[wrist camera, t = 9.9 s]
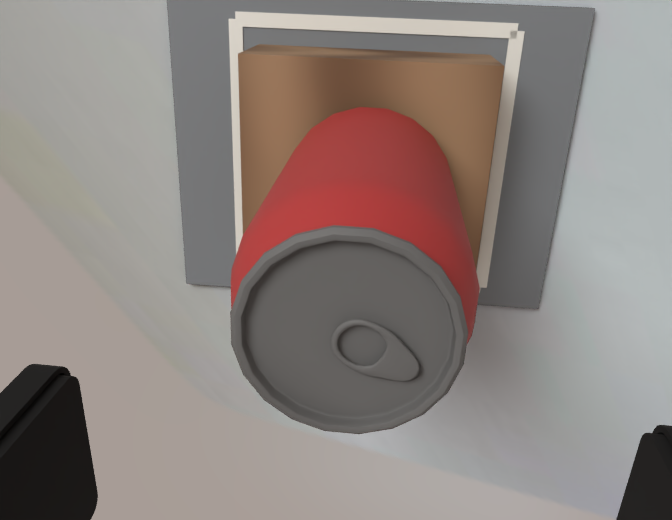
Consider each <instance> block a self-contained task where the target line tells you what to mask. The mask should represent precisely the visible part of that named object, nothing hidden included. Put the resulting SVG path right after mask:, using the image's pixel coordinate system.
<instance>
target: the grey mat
mask: <svg viewBox="0 0 672 520" xmlns="http://www.w3.org/2000/svg"><path fill="white" fill-rule="evenodd" d="M167 10H168V24H169V39H170V53H171V68H172V82H173V97H174V111H175V126H176V140H177V155H178V169H179V183H180V198H181V212H182V227H183V241H184V256H185V270H186V284H198V285H212V286H226V287H231V270H232V266H233V263H234V260H235V257H236V254H237V251H238V248H239V245H240V242H241V239H242V236H243V224H242V187H241V150H240V114H239V77H238V53H240V52H243V51H245V50H247V49H249V48H252V47H254V46H256V45H258V44H265V45H287V46H309V47H331V48H353V49H375V50H397V51H418V52H440V53H462V54H484V55H491V56H492V57H493V58H495V59H496V60H497V61H499V62H500V63H501V64H503V65H504V66H505V67H504V74H503V81H502V88H501V96H500V103H499V110H498V117H497V124H496V131H495V139H494V146H493V153H492V160H491V167H490V175H489V182H488V189H487V196H486V203H485V211H484V218H483V225H482V232H481V239H480V246H479V254H478V261H477V268H476V272H477V277H478V282H479V287H480V290H479V297H478V303H477V305H491V306H505V307H519V308H533V309H538V308H539V303H540V297H541V292H542V287H543V281H544V276H545V271H546V266H547V260H548V255H549V250H550V244H551V239H552V234H553V229H554V223H555V218H556V213H557V207H558V202H559V197H560V191H561V186H562V181H563V176H564V170H565V165H566V160H567V154H568V149H569V144H570V139H571V133H572V128H573V123H574V117H575V112H576V107H577V101H578V96H579V91H580V86H581V80H582V75H583V70H584V64H585V59H586V54H587V49H588V43H589V38H590V33H591V27H592V22H593V17H594V12H595V8H582V7H558V6H533V5H508V4H483V3H458V2H433V1H408V0H167Z"/></svg>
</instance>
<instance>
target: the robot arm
mask: <svg viewBox="0 0 672 520" xmlns="http://www.w3.org/2000/svg"><path fill="white" fill-rule="evenodd" d="M97 498H98V494H97V487H96V481H95V475H94V469H93V463H92V457H91V451H90V445H89V439H88V433H87V427H86V421H85V415H84V409H83V403H82V397H81V391H80V385H79V381H78V379H77V378H76V377H74V376H71V375H70V373H69V371H68V369H67V368H65V367H60V366H50V365H40V364H31V365H29V366H27V367H26V368H25V369H24V370H23V371H22V372H21V373H20V374H19V375H18V376H17V377H16V378H15V379H14V380H13V381H12V382H11V383H10V384H9V385H8V386H7V387H6V388H5V389H4V390H3V391H2V392H1V393H0V520H90V519H91V518H92V516H93V514H94V511H95V509H96V504H97ZM617 520H672V426H667V425H658V426H657V427H656V428H655V429H654V431H653V433H645V434H644V435H643V436H642V438H641V440H640V443H639V447H638V450H637V453H636V457H635V460H634V463H633V467H632V470H631V473H630V477H629V480H628V483H627V486H626V490H625V493H624V496H623V500H622V503H621V506H620V510H619V513H618V516H617Z"/></svg>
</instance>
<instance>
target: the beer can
mask: <svg viewBox="0 0 672 520" xmlns="http://www.w3.org/2000/svg"><path fill="white" fill-rule="evenodd" d="M479 290H480V287H479V282H478V277H477V272H476V268H475V263H474V258H473V253H472V249H471V246H470V242H469V238H468V235H467V231H466V227H465V224H464V220H463V216H462V213H461V209H460V205H459V202H458V198H457V194H456V190H455V187H454V183H453V179H452V176H451V172H450V168H449V165H448V161H447V158H446V156H445V155H444V153H443V151H442V150H441V148H440V146H439V145H438V143H437V141H436V140H435V138H434V136H433V135H431V134H430V133H429V132H428V131H427V130H425V129H424V128H423V127H422V126H421V125H420V124H418V123H417V122H416V121H415V120H414V119H412V118H410V117H407V116H405V115H402V114H400V113H397V112H394V111H392V110H389V109H385V108H369V107H358V108H354V109H350V110H346V111H343V112H339V113H335V114H333V115H331V116H330V117H328V118H326V119H325V120H323V121H322V122H320V123H319V124H317V125H316V126H314V127H313V128H311V129H310V131H309V132H308V133H307V134H306V136H305V137H304V138H303V140H302V141H301V142H300V143H299V145H298V146H297V147H296V149H295V150H294V152H293V153H292V155H291V157H290V158H289V160H288V162H287V163H286V165H285V167H284V168H283V170H282V172H281V173H280V175H279V176H278V178H277V180H276V181H275V183H274V185H273V186H272V188H271V190H270V191H269V193H268V195H267V196H266V198H265V200H264V201H263V203H262V205H261V206H260V208H259V209H258V211H257V213H256V214H255V216H254V218H253V219H252V221H251V223H250V224H249V226H248V228H247V229H246V231H245V233H244V234H243V236H242V239H241V242H240V245H239V248H238V251H237V254H236V257H235V260H234V263H233V266H232V270H231V308H232V310H231V312H230V315H231V345H232V347H233V350H234V352H235V355H236V357H237V360H238V362H239V365H240V368H241V370H242V373H243V375H244V376H245V377H246V378H247V380H248V381H249V382H250V383H251V385H252V386H253V387H254V388H255V389H256V391H257V392H258V393H259V394H260V396H261V397H262V398H263V399H264V400H265V401H266V402H268V403H269V404H271V405H272V406H274V407H275V408H276V409H278V410H279V411H281V412H282V413H284V414H285V415H287V416H288V417H290V418H291V419H293V420H296V421H298V422H301V423H304V424H307V425H310V426H312V427H315V428H318V429H321V430H324V431H332V432H342V433H353V434H362V433H368V432H374V431H381V430H387V429H393V428H395V427H397V426H399V425H402V424H404V423H406V422H408V421H410V420H412V419H415V418H417V417H419V416H421V415H423V414H424V413H426V412H427V411H428V410H429V409H430V408H431V407H432V406H433V405H434V404H436V403H437V402H438V401H439V400H440V399H441V398H442V397H443V396H444V395H446V394H447V393H448V391H449V390H450V388H451V386H452V384H453V382H454V381H455V379H456V377H457V375H458V373H459V372H460V370H461V368H462V366H463V364H464V358H465V351H466V345H467V343H468V341H469V339H470V338H471V336H472V332H473V327H474V323H475V316H476V310H477V303H478V297H479Z"/></svg>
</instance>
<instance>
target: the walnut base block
mask: <svg viewBox="0 0 672 520" xmlns="http://www.w3.org/2000/svg"><path fill="white" fill-rule="evenodd" d="M504 67H505V66H504V65H503V64H501V63H500V62H499V61H497V60H496V59H495V58H493V57H492V56H491V55H484V54H462V53H440V52H418V51H397V50H375V49H353V48H331V47H309V46H287V45H265V44H258V45H256V46H254V47H252V48H249V49H247V50H245V51H243V52H240V53H238V77H239V114H240V150H241V187H242V224H243V234H244V233H245V231H246V229H247V228H248V226H249V224H250V223H251V221H252V219H253V218H254V216H255V214H256V213H257V211H258V209H259V208H260V206H261V205H262V203H263V201H264V200H265V198H266V196H267V195H268V193H269V191H270V190H271V188H272V186H273V185H274V183H275V181H276V180H277V178H278V176H279V175H280V173H281V172H282V170H283V168H284V167H285V165H286V163H287V162H288V160H289V158H290V157H291V155H292V153H293V152H294V150H295V149H296V147H297V146H298V145H299V143H300V142H301V141H302V140H303V138H304V137H305V136H306V134H307V133H308V132H309V131H310V129H311V128H313V127H314V126H316V125H317V124H319V123H320V122H322V121H323V120H325V119H326V118H328V117H330V116H331V115H333V114H335V113H339V112H343V111H346V110H350V109H354V108H358V107H369V108H385V109H389V110H392V111H394V112H397V113H400V114H402V115H405V116H407V117H410V118H412V119H414V120H415V121H416V122H417V123H418V124H420V125H421V126H422V127H423V128H424V129H425V130H427V131H428V132H429V133H430V134H431V135H433V136H434V138H435V140H436V141H437V143H438V145H439V146H440V148H441V150H442V151H443V153H444V155H445V156H446V158H447V161H448V165H449V168H450V172H451V176H452V179H453V183H454V187H455V190H456V194H457V198H458V202H459V205H460V209H461V213H462V216H463V220H464V224H465V227H466V231H467V235H468V238H469V242H470V246H471V249H472V253H473V258H474V263H475V268H477V261H478V254H479V246H480V239H481V232H482V225H483V218H484V211H485V203H486V196H487V189H488V182H489V175H490V167H491V160H492V153H493V146H494V139H495V131H496V124H497V117H498V110H499V103H500V96H501V88H502V81H503V74H504Z"/></svg>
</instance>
